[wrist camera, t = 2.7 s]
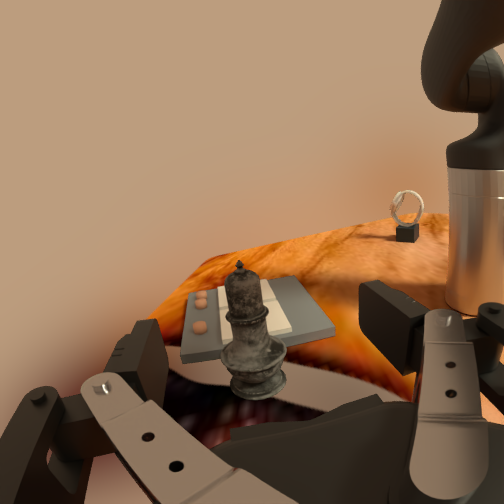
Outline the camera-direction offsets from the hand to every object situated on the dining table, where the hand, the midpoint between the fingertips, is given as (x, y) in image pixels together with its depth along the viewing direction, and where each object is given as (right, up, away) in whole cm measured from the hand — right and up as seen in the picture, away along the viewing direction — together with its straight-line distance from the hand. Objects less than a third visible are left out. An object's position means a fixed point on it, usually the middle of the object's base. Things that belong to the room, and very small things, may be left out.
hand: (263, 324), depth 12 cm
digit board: (-1, -6, +29) cm, 30 cm away
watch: (+35, +5, +53) cm, 64 cm away
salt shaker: (0, -10, +16) cm, 19 cm away
